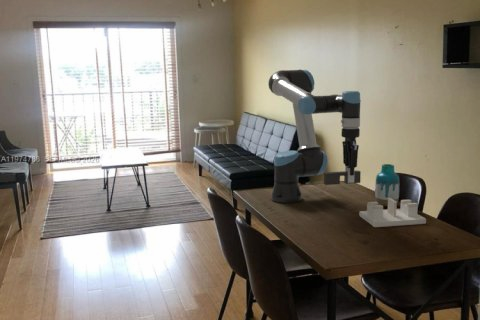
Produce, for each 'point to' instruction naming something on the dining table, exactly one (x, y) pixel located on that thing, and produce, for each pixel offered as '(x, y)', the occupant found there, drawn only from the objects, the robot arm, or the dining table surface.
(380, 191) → the vase
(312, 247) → the dining table surface
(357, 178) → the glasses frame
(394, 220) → the white pegged base plate
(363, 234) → the dining table surface
